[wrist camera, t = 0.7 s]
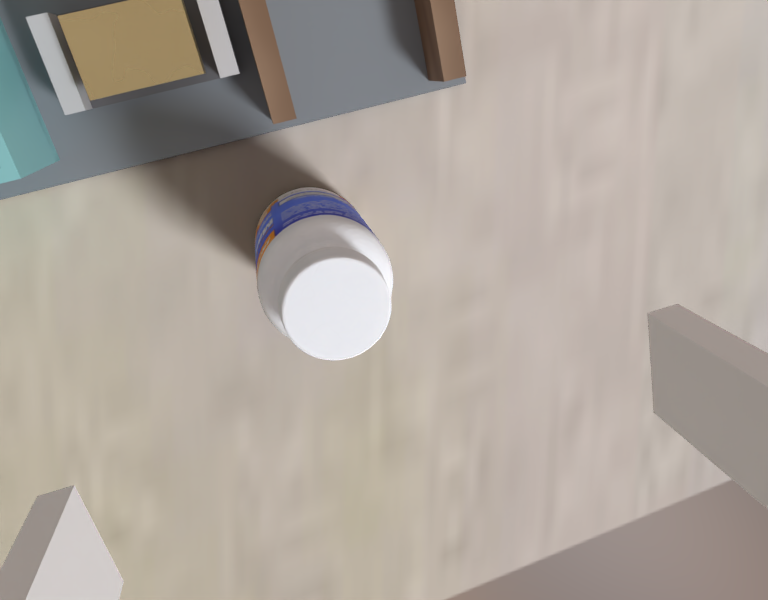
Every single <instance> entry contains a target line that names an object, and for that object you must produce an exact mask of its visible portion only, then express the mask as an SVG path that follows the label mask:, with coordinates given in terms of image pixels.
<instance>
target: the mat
mask: <svg viewBox="0 0 768 600" xmlns="http://www.w3.org/2000/svg"><path fill="white" fill-rule="evenodd" d="M117 1H122V0H0V18H1V20H2V23H3V25H4V27H5V30H6V32H7V35H8V37H9V39H10V42H11V44H12V47H13V49H14V51H15V54H16V56H17V58H18V61H19V63H20V66H21V68H22V70H23V73H24V75H25V78H26V80H27V82H28V85H29V87H30V90H31V92H32V94H33V97H34V99H35V101H36V104H37V106H38V109H39V111H40V113H41V116H42V118H43V121H44V123H45V125H46V128H47V130H48V133H49V135H50V137H51V140H52V142H53V144H54V147H55V149H56V152H57V154H58V156H59V159H60V160H59V161H57V162H55V163H53V164H51V165H49V166H46V167H44V168H42V169H40V170H38V171H36V172H34V173H32V174H30V175H28V176H25V177H23V178H21V179H17V180H13V181H9V182H5V183H1V184H0V200H1V199H5V198H9V197H13V196H17V195H21V194H25V193H29V192H33V191H37V190H41V189H45V188H49V187H53V186H57V185H61V184H65V183H69V182H73V181H77V180H81V179H85V178H89V177H93V176H97V175H101V174H105V173H109V172H113V171H117V170H121V169H125V168H129V167H133V166H137V165H141V164H145V163H149V162H153V161H157V160H161V159H165V158H169V157H173V156H177V155H181V154H185V153H189V152H193V151H197V150H201V149H205V148H209V147H213V146H217V145H221V144H225V143H229V142H233V141H237V140H241V139H245V138H249V137H253V136H257V135H261V134H265V133H269V132H273V131H277V130H281V129H285V128H289V127H293V126H297V125H301V124H305V123H309V122H313V121H317V120H321V119H325V118H329V117H333V116H337V115H340V114H344V113H348V112H352V111H356V110H360V109H364V108H368V107H372V106H376V105H380V104H384V103H388V102H392V101H396V100H400V99H404V98H408V97H412V96H416V95H420V94H424V93H428V92H432V91H436V90H440V89H444V88H448V87H452V86H456V85H460V84H464V83H466V80H465V77H461V78H457V79H453V80H449V81H445V82H440V81H429V79H428V74H427V68H426V63H425V57H424V52H423V46H422V41H421V35H420V30H419V24H418V19H417V13H416V8H415V2H414V0H265V1H266V4H267V8H268V12H269V16H270V20H271V23H272V27H273V31H274V35H275V38H276V42H277V46H278V50H279V53H280V57H281V61H282V65H283V68H284V72H285V76H286V80H287V84H288V87H289V91H290V95H291V99H292V102H293V106H294V110H295V114H296V117H297V119H293V120H289V121H285V122H281V123H277V124H273V122H272V120H271V117H270V113H269V109H268V106H267V102H266V99H265V95H264V92H263V88H262V85H261V81H260V77H259V74H258V70H257V67H256V63H255V60H254V56H253V52H252V49H251V45H250V42H249V38H248V35H247V31H246V28H245V24H244V20H243V17H242V13H241V10H240V6H239V3H238V0H219V1H220V5H221V8H222V12H223V15H224V19H225V22H226V25H227V29H228V32H229V36H230V39H231V43H232V46H233V49H234V53H235V56H236V60H237V63H238V67H239V70H240V74H236V75H232V76H228V77H223V78H219V79H215V80H211V81H206V82H202V83H198V84H194V85H190V86H186V87H181V88H177V89H173V90H169V91H165V92H160V93H156V94H152V95H148V96H144V97H140V98H135V99H131V100H127V101H123V102H119V103H115V104H110V105H106V106H102V107H98V108H94V109H90V110H85V111H81V112H77V113H73V114H69V115H65V114H64V111H63V109H62V106H61V104H60V102H59V99H58V97H57V94H56V92H55V89H54V87H53V84H52V82H51V79H50V77H49V74H48V72H47V69H46V67H45V64H44V62H43V59H42V57H41V55H40V52H39V50H38V47H37V45H36V42H35V40H34V37H33V35H32V32H31V30H30V27H29V25H28V22H27V20H26V17H28V16H33V15H37V14H42V13H47V12H48V13H51V14H55V15H59V14H63V13H68V12H72V11H77V10H81V9H86V8H90V7H95V6H99V5H104V4H108V3H113V2H117Z"/></svg>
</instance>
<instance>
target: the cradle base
mask: <svg viewBox="0 0 768 600" xmlns="http://www.w3.org/2000/svg"><path fill="white" fill-rule="evenodd" d="M123 1H127V0H122V1H117V2H113V3H108V4H104V5H99V6H95V7H90V8H86V9H81V10H77V11H72V12H68V13H63V14H59V15H55V14H51V13H48V12H47V13H42V14H37V15H33V16H28V17H26V20H27V22H28V25H29V27H30V30H31V32H32V35H33V37H34V40H35V42H36V45H37V47H38V50H39V52H40V55H41V57H42V59H43V62H44V64H45V67H46V69H47V72H48V74H49V77H50V79H51V82H52V84H53V87H54V89H55V92H56V94H57V97H58V99H59V102H60V104H61V106H62V109H63V111H64V114H65V115H69V114H73V113H77V112H81V111H85V110H90V109H94V108H98V107H102V106H106V105H110V104H115V103H119V102H123V101H127V100H131V99H135V98H140V97H144V96H148V95H152V94H156V93H160V92H165V91H169V90H173V89H177V88H181V87H186V86H190V85H194V84H198V83H202V82H206V81H211V80H215V79H219V78H223V77H228V76H232V75H236V74H240V70H239V67H238V63H237V60H236V56H235V53H234V49H233V46H232V43H231V39H230V36H229V32H228V29H227V25H226V22H225V19H224V15H223V12H222V8H221V5H220V1H219V0H183V1H184V4H185V7H186V10H187V14H188V17H189V20H190V23H191V26H192V30H193V33H194V36H195V39H196V42H197V46H198V49H199V52H200V55H201V58H202V62H203V65H204V68H205V71H206V74H201V75H197V76H193V77H189V78H185V79H180V80H176V81H172V82H168V83H164V84H159V85H155V86H151V87H147V88H143V89H138V90H134V91H130V92H126V93H122V94H117V95H113V96H109V97H105V98H101V99H96V100H91V101H90V99H89V97H88V94H87V92H86V89H85V87H84V84H83V81H82V79H81V76H80V74H79V71H78V68H77V66H76V63H75V61H74V58H73V55H72V53H71V50H70V48H69V45H68V42H67V40H66V37H65V35H64V32H63V30H62V27H61V24H60V22H59V19H58V17H57V16H60V15H64V14H69V13H73V12H78V11H82V10H87V9H91V8H96V7H100V6H105V5H109V4H114V3H118V2H123Z"/></svg>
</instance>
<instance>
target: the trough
mask: <svg viewBox="0 0 768 600" xmlns="http://www.w3.org/2000/svg"><path fill="white" fill-rule="evenodd" d="M414 2H415V8H416V13H417V19H418V24H419V30H420V35H421V41H422V46H423V52H424V57H425V63H426V68H427V74H428V79H429V81H440V82H445V81H449V80H453V79H457V78H461V77H465V76H466V71H465V65H464V59H463V52H462V46H461V40H460V34H459V27H458V21H457V15H456V9H455V2H454V0H414ZM238 3H239V6H240V10H241V13H242V17H243V20H244V24H245V28H246V31H247V35H248V38H249V42H250V45H251V49H252V52H253V56H254V60H255V63H256V67H257V70H258V74H259V77H260V81H261V85H262V88H263V92H264V95H265V99H266V102H267V106H268V109H269V113H270V117H271V120H272V122H273V124H277V123H281V122H285V121H289V120H293V119H297V117H296V114H295V110H294V106H293V102H292V99H291V95H290V91H289V87H288V84H287V80H286V76H285V72H284V68H283V65H282V61H281V57H280V53H279V50H278V46H277V42H276V38H275V35H274V31H273V27H272V23H271V20H270V16H269V12H268V8H267V4H266V1H265V0H238Z"/></svg>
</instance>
